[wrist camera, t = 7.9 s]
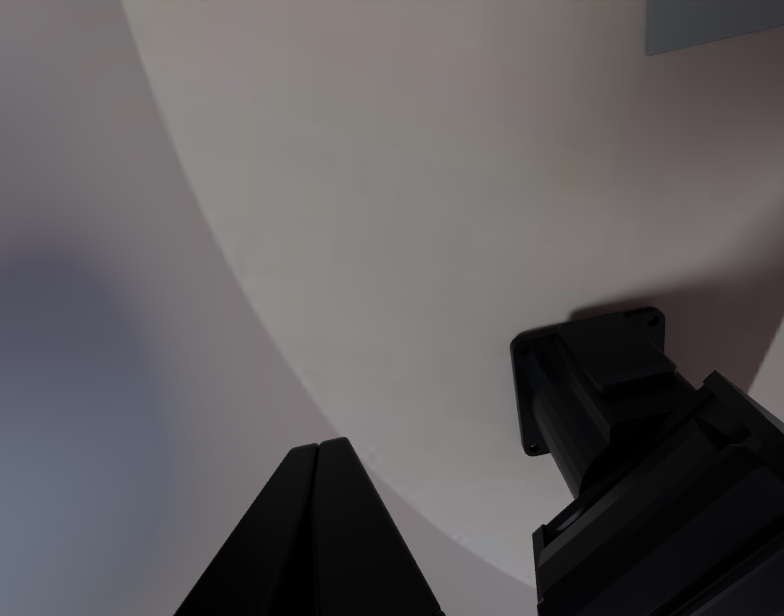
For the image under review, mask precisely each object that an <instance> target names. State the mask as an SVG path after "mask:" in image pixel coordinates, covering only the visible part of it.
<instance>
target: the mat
mask: <svg viewBox="0 0 784 616" xmlns="http://www.w3.org/2000/svg"><path fill="white" fill-rule="evenodd" d="M781 25H784V0H647V44H646V56H651V55H656V54H660V53H664V52H668V51H673V50H677V49H681V48H686V47H690V46H694V45H699V44H703V43H707V42H712V41H716V40H720V39H725V38H729V37H733V36H737V35H742V34H746V33H750V32H755V31H759V30H763V29H768V28H772V27H776V26H781Z"/></svg>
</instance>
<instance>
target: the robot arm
mask: <svg viewBox="0 0 784 616" xmlns="http://www.w3.org/2000/svg"><path fill="white" fill-rule="evenodd" d="M653 316H654V319H653V320H652V321H650V322H648V320H649V319H650V318H651V317H653ZM664 337H665V316H664V314H663V313H662V312H661V311H660V310H659V309H657V308H655V307H646V308H642V309H637V310H633V311H628V312H624V313H619V312H616V313H611V314H607V315H602V316H598V317H594V318H589V319H585V320H580V321H576V322H571V323H567V324H563V325H561V326H560V327H557V328H552V329H548V330H543V331H539V332H534V333H530V334H525V335H521V336H518V337H516V338H515V339H514V340H512V342H511V344H510V353H511V361H512V369H513V377H514V385H515V393H516V402H517V410H518V418H519V426H520V434H521V443H522V447H523V449H524V451H525V453H526V454H527V455H528V456H539V455H544V454H548V453H551V454H552V456H553V458H554V460H555V462H556V464H557V466H558V468H559V470H560V472H561V474H562V476H563V478H564V480H565V482H566V483H567V485H568V487H569V489H570V491H571V493H572V495H573V497H574V499H575V500H574V501H573V502H572V503H571V504H569V505H568V506H567V507H566V508H565V509H564V510H563V511H562V512H560V513H559V514H558V515H557V516H556V517H555V518H554V519H553V520H551V521H550V522H549V523H548V524H547V525H544V524H543V525H541V526H540V527H539V528H538V529H537V530H536V531H535V532H534V533H533V534H532V538H533V550H534V562H535V574H536V586H537V598H538V604H537V610H538V616H784V423H783V422H782V421H780V420H779V419H778V418H777V417H775V416H774V415H773V414H771V413H770V412H769V411H767V410H766V409H765V408H764V407H762V406H761V405H760V404H758V403H757V402H756V401H755V400H753V399H752V398H751V397H749V396H748V395H747V394H746V393H744V392H743V391H742V390H740V389H739V388H738V387H736V386H735V385H734V384H733V383H731V382H730V381H729V380H727V379H726V378H725V377H724V376H722V375H721V374H720V373H718V372H717V371H716V370H715V371H714V372H712V373H711V374H710V375H709V376H708V377H707V378H706V379H705V380H704V381H702V382H703V383H704V385H703V386H702V387H701V388H700V389H698V390H696V389H695V388H694V387H693V386H692V385H691V384H690V383H689V382H688V381H687V380H686V379H685V378H684V377H683V376H682V375H681V374H680V373H679V372H678V371H677V370H676V365H675V364H674V363H673V362H672V361H671V360H670V359H669V358H668V357H667V356H666V355H665V354H664ZM523 345H527V347H526V349H524V350H522V351H519V348H520V347H521V346H523ZM534 444H536V445H535V446H533V447H531V446H532V445H534ZM173 616H446V615H445V614H444V612H443V611H441V608H440V605H439V603H438V602H437V600H436V598H435V596H434V594H433V593H432V591H431V589H430V587H429V585H428V583H427V581H426V580H425V578H424V576H423V574H422V572H421V570H420V569H419V567H418V565H417V564H416V561H415V560H414V558H413V556H412V554H411V552H410V550H409V549H408V547H407V545H406V543H405V541H404V540H403V538H402V536H401V534H400V532H399V530H398V529H397V527H396V525H395V523H394V521H393V519H392V518H391V516H390V514H389V512H388V510H387V509H386V507H385V505H384V503H383V501H382V499H381V498H380V496H379V494H378V492H377V490H376V489H375V487H374V485H373V483H372V481H371V480H370V478H369V476H368V474H367V472H366V470H365V468H364V467H363V465H362V463H361V461H360V459H359V458H358V456H357V454H356V452H355V450H354V448H353V447H352V445H351V443H350V441H349V440H348V438H346V437H340V438H336V439H331V440H326V441H323V442H322V443H321V444H320V445H319V444H317V443H312V444H308V445H303V446H299V447H295V448H292V449H291V450H290V451H289V452H288V454H287V455H286V457H285V458H284V459H283V461H282V463H280V465H279V466H278V468H277V469H276V471H275V472H274V473H273V475H272V476H271V478H270V479H269V481H268V482H267V483H266V485H265V486H264V488H263V489H262V490H261V492H260V493H259V495H258V496H257V498H256V499H255V500H254V502H253V503H252V505H251V506H250V507H249V509H248V510H247V512H246V513H245V515H244V516H243V518H242V519H241V520H240V522H239V523H238V524H237V526H236V527H235V529H234V530H233V532H232V533H231V534H230V536H229V537H228V539H227V540H226V541H225V543H224V544H223V546H222V547H221V549H220V550H219V551H218V553H217V554H216V556H215V557H214V558H213V560H212V561H211V563H210V564H209V566H208V567H207V568H206V570H205V571H204V573H203V574H202V576H201V577H200V578H199V580H198V581H197V583H196V584H195V586H194V587H193V588H192V590H191V591H190V592H189V594H188V595H187V597H186V598H185V600H184V601H183V603H182V604H181V605H180V607H179V608H178V610H177V611H176V612H175V614H174V615H173Z"/></svg>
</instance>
